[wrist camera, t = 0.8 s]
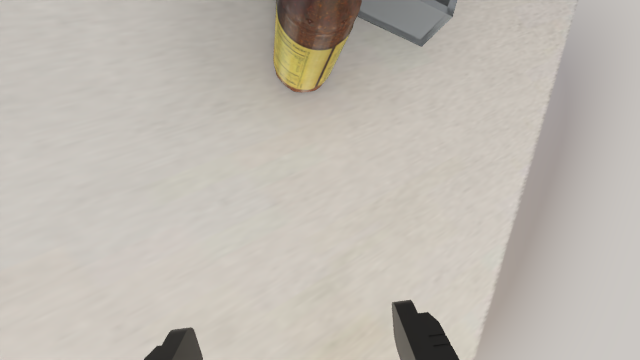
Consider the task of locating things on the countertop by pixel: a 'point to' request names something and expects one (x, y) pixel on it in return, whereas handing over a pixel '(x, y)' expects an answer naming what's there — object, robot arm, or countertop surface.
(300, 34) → the sauce bottle
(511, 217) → the countertop surface
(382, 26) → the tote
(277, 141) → the countertop surface
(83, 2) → the countertop surface
